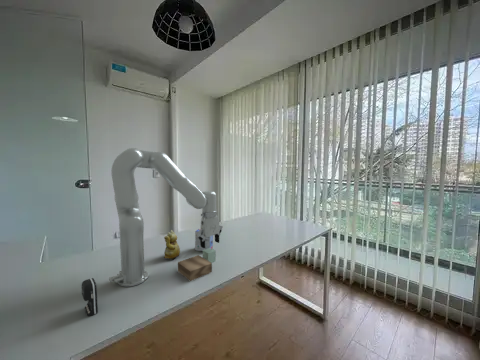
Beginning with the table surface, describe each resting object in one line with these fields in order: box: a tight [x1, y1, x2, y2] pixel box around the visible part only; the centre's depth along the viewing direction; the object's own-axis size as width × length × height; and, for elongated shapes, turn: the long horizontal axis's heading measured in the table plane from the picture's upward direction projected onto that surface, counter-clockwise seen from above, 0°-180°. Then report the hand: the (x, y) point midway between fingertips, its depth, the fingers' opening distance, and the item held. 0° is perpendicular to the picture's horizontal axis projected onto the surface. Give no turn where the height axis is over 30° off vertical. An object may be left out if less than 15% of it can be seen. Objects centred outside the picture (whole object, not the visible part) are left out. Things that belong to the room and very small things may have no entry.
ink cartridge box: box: [194, 228, 214, 252], centre depth 132 cm, size 10×6×14 cm, turn 78°
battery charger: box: [80, 277, 99, 317], centre depth 78 cm, size 7×4×11 cm, turn 44°
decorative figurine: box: [163, 229, 181, 261], centre depth 122 cm, size 10×8×15 cm
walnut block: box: [177, 254, 213, 282], centre depth 107 cm, size 12×12×5 cm
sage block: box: [202, 248, 217, 264], centre depth 118 cm, size 5×5×6 cm
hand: (210, 244), depth 118 cm, fingers open, 9 cm apart
